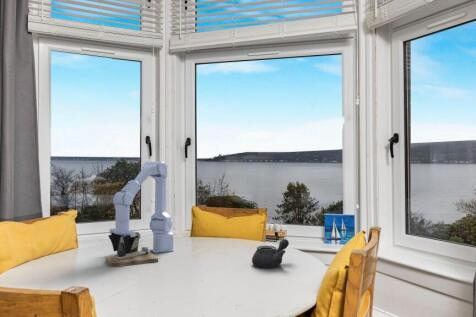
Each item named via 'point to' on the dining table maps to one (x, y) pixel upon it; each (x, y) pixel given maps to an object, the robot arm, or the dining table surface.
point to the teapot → (269, 255)
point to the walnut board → (131, 260)
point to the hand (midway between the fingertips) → (121, 252)
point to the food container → (135, 244)
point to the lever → (123, 255)
